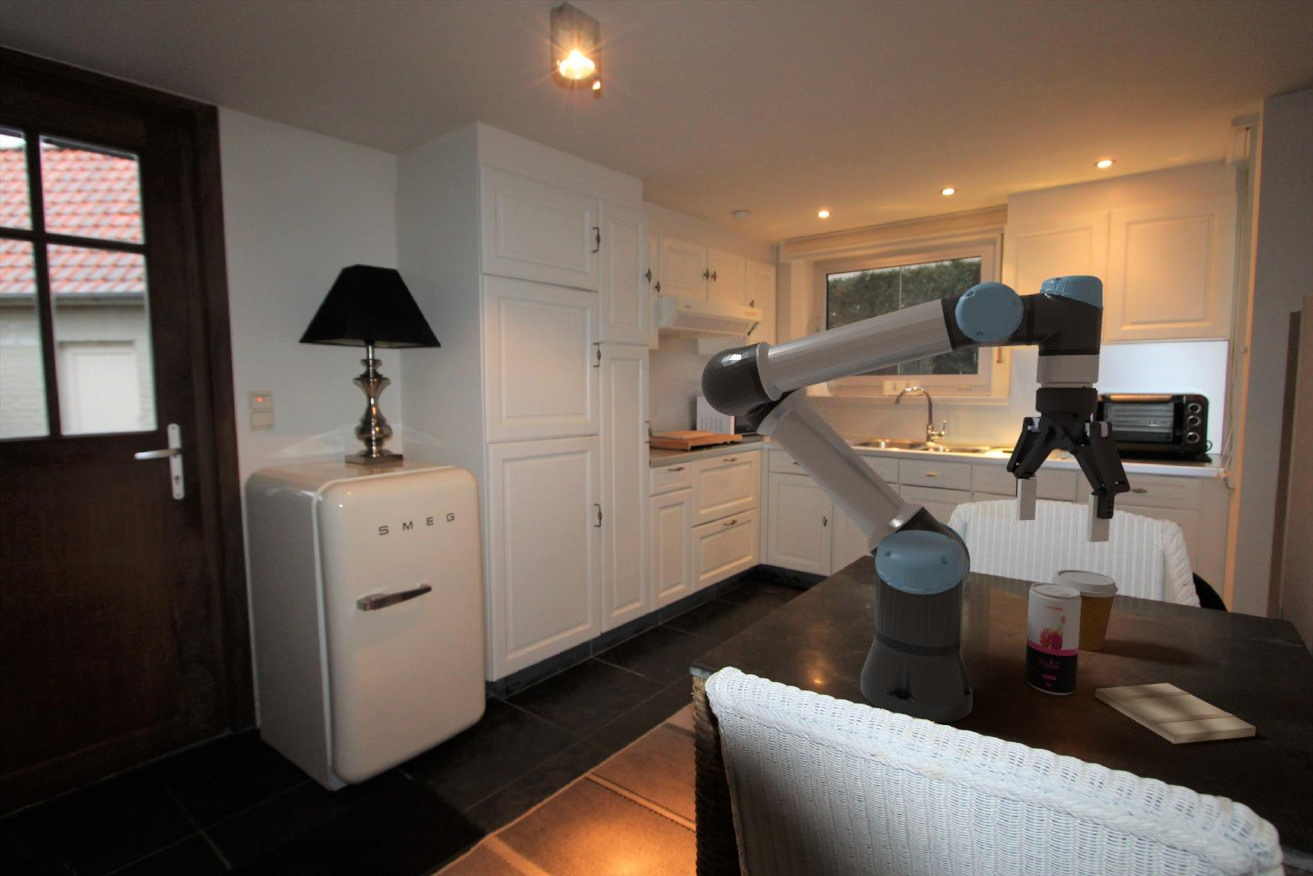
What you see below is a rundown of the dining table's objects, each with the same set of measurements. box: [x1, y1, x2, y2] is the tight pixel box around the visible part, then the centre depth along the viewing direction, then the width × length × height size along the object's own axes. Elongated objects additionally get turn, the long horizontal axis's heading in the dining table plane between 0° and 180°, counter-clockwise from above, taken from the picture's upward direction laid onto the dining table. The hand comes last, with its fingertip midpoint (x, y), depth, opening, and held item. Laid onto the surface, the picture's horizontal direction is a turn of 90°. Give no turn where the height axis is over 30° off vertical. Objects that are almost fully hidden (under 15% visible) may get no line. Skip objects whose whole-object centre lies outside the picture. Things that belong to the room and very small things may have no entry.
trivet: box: [1094, 682, 1256, 744], centre depth 86 cm, size 12×12×1 cm
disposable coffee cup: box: [1051, 569, 1119, 652], centre depth 109 cm, size 10×10×12 cm
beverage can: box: [1024, 582, 1081, 696], centre depth 94 cm, size 6×7×15 cm
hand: (1058, 530), depth 92 cm, fingers open, 13 cm apart
